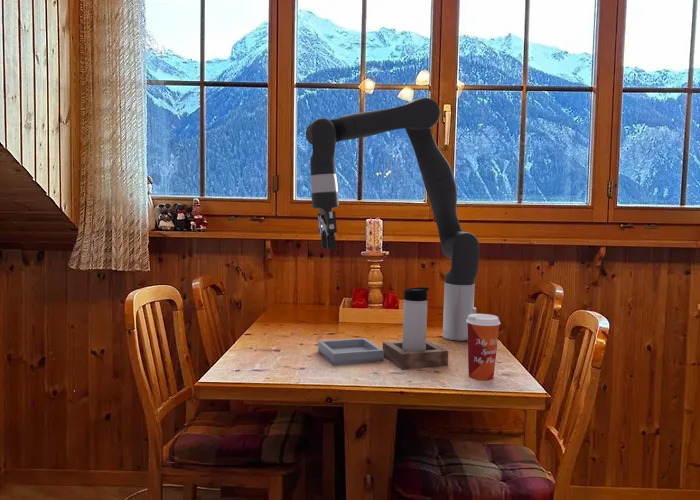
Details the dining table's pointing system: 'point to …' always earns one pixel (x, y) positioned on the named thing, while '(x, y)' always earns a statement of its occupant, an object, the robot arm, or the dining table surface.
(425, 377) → the dining table surface
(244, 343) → the dining table surface
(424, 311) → the travel mug
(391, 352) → the socket collar
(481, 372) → the coffee cup
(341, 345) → the parts tray
